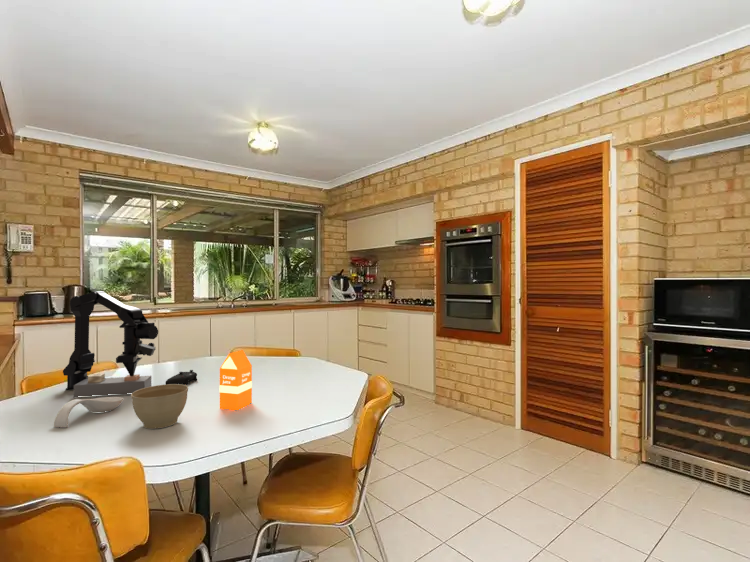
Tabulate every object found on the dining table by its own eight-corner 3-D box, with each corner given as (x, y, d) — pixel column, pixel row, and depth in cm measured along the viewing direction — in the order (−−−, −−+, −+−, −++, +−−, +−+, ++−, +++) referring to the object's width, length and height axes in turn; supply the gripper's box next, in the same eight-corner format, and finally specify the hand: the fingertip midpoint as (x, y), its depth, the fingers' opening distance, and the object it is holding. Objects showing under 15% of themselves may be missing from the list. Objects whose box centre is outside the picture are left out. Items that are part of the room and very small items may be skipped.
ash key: (87, 386, 161) (87, 376, 161) (92, 383, 165) (92, 374, 165) (100, 385, 162) (100, 376, 162) (104, 383, 166) (104, 373, 166)
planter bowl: (174, 412, 139) (174, 381, 139) (197, 422, 129) (197, 389, 129) (122, 425, 127) (122, 391, 127) (143, 438, 117) (143, 400, 117)
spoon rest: (101, 405, 149) (101, 386, 149) (130, 405, 148) (130, 386, 148) (43, 428, 125) (43, 405, 125) (78, 429, 124) (78, 406, 124)
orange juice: (252, 403, 149) (252, 350, 149) (238, 410, 141) (238, 354, 141) (234, 401, 151) (234, 349, 152) (219, 409, 143) (219, 353, 143)
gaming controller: (179, 369, 189) (199, 365, 188) (181, 382, 189) (201, 378, 188) (162, 376, 175) (184, 372, 174) (164, 390, 175) (187, 386, 174)
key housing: (73, 397, 157) (73, 385, 157) (84, 391, 167) (84, 379, 167) (144, 393, 163) (144, 381, 163) (151, 387, 173) (151, 375, 173)
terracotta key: (124, 387, 164) (124, 377, 164) (128, 384, 168) (128, 375, 168) (136, 386, 165) (136, 376, 165) (139, 383, 169) (139, 374, 169)
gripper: (147, 341, 160) (146, 380, 160) (159, 335, 178) (159, 370, 178) (115, 342, 157) (115, 381, 157) (131, 335, 175) (131, 371, 175)
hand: (132, 375), depth 167 cm, fingers closed, pressing on terracotta key
